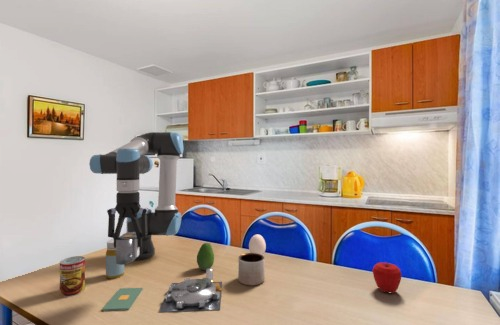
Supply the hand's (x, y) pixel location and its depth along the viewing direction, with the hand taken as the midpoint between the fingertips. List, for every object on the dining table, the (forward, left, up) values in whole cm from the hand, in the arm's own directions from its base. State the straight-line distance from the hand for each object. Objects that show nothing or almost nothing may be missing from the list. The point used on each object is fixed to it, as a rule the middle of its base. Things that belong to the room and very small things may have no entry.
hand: (128, 256), depth 95 cm
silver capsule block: (0, 0, -1) cm, 1 cm away
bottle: (-19, -13, -15) cm, 28 cm away
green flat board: (+1, -1, -15) cm, 15 cm away
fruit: (-23, +25, -15) cm, 38 cm away
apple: (+1, +96, -15) cm, 98 cm away
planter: (-11, +45, -15) cm, 49 cm away
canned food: (-6, -23, -15) cm, 28 cm away
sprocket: (0, +23, -15) cm, 28 cm away
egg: (-37, +50, -15) cm, 65 cm away
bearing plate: (0, +23, -15) cm, 28 cm away
